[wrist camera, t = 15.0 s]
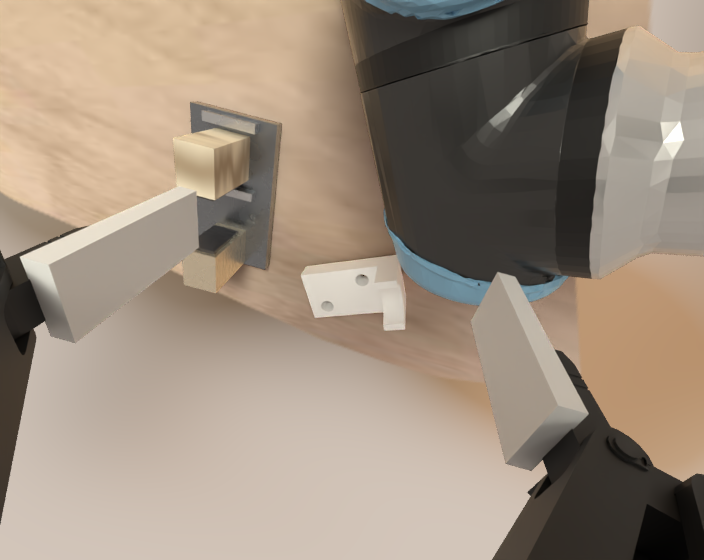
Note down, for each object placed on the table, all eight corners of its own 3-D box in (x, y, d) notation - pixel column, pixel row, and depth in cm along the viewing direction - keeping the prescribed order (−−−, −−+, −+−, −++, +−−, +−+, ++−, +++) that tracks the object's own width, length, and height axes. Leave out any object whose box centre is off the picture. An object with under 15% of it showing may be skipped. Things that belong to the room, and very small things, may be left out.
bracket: (398, 251, 43) (396, 280, 37) (406, 295, 47) (405, 329, 40) (307, 263, 46) (291, 291, 40) (320, 303, 50) (307, 336, 43)
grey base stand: (197, 101, 37) (138, 106, 29) (281, 123, 37) (245, 134, 29) (203, 246, 47) (160, 280, 39) (269, 264, 47) (239, 301, 39)
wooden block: (248, 183, 40) (214, 203, 33) (216, 175, 40) (177, 193, 33) (250, 136, 37) (214, 148, 30) (216, 127, 37) (172, 137, 30)
